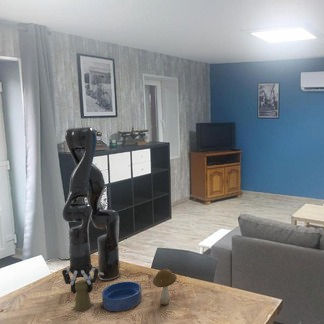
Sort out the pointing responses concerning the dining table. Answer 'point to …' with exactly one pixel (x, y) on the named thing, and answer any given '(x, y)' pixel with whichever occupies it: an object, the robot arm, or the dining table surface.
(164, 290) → the mushroom
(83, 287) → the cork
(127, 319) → the dining table surface
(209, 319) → the dining table surface
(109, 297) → the bowl
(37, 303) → the dining table surface
